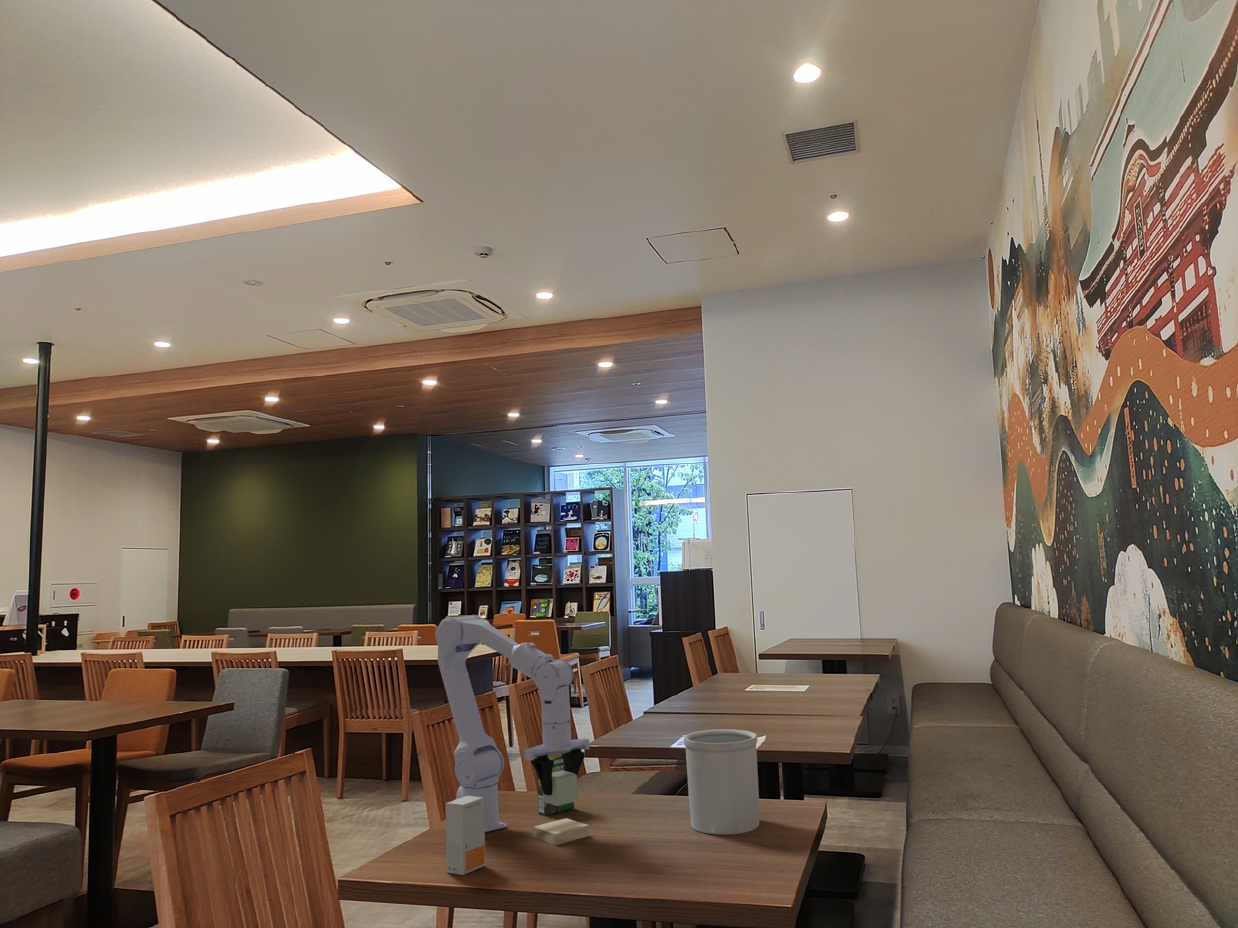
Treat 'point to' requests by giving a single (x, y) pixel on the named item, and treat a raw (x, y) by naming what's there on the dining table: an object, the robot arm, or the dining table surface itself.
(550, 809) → the coffee box
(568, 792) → the sage box
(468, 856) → the skincare box
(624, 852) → the dining table surface
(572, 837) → the maple block
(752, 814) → the utensil holder
